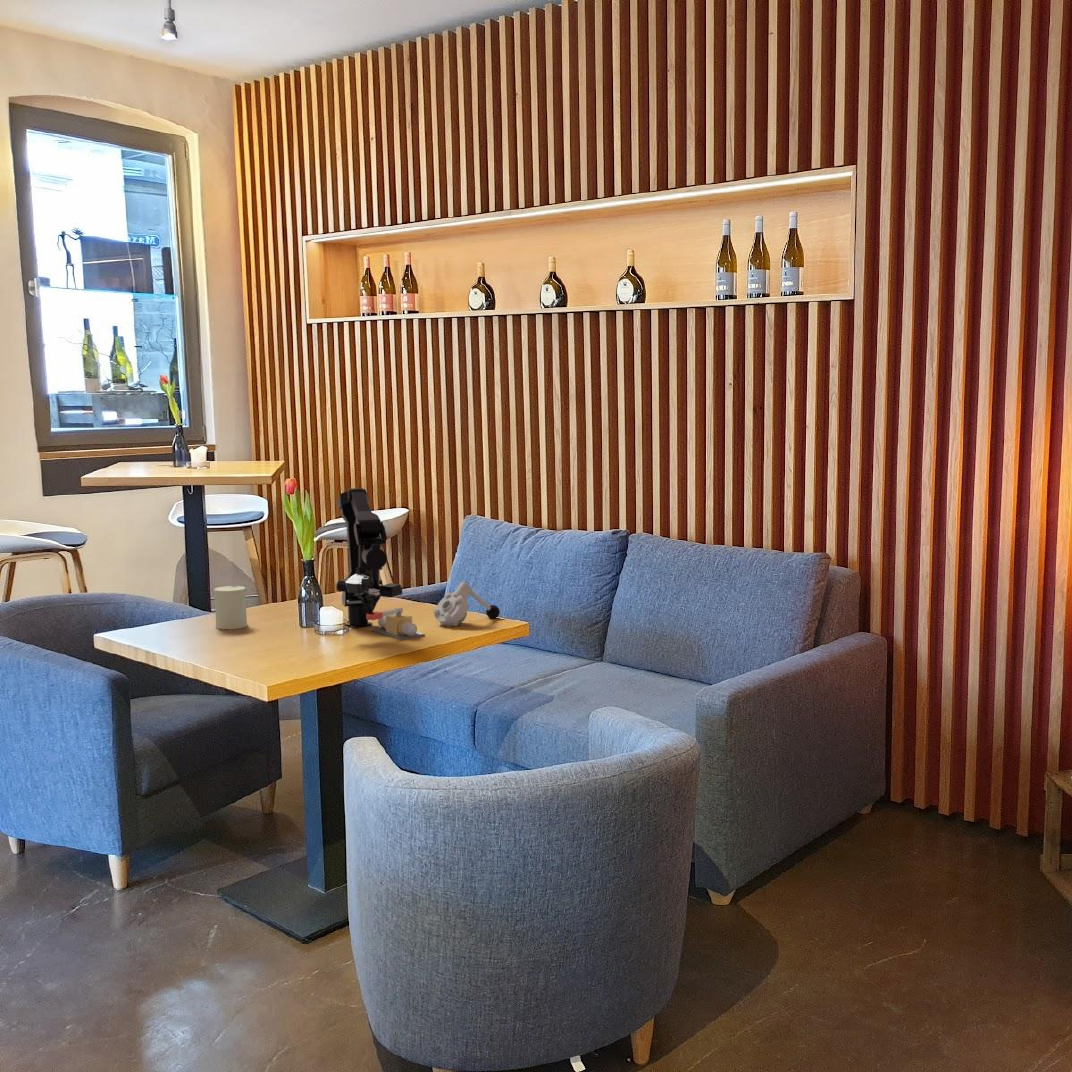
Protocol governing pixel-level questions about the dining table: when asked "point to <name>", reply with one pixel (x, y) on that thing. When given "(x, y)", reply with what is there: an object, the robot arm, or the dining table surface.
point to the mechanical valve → (460, 606)
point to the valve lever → (383, 614)
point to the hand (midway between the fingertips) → (369, 617)
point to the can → (230, 607)
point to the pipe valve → (398, 627)
